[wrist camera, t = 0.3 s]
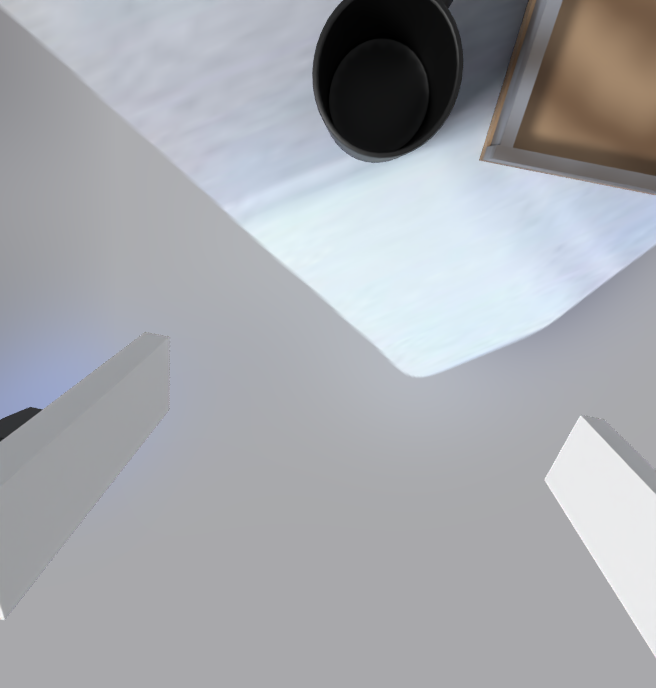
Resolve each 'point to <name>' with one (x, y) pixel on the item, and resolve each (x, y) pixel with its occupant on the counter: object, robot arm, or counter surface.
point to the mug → (387, 75)
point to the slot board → (581, 94)
